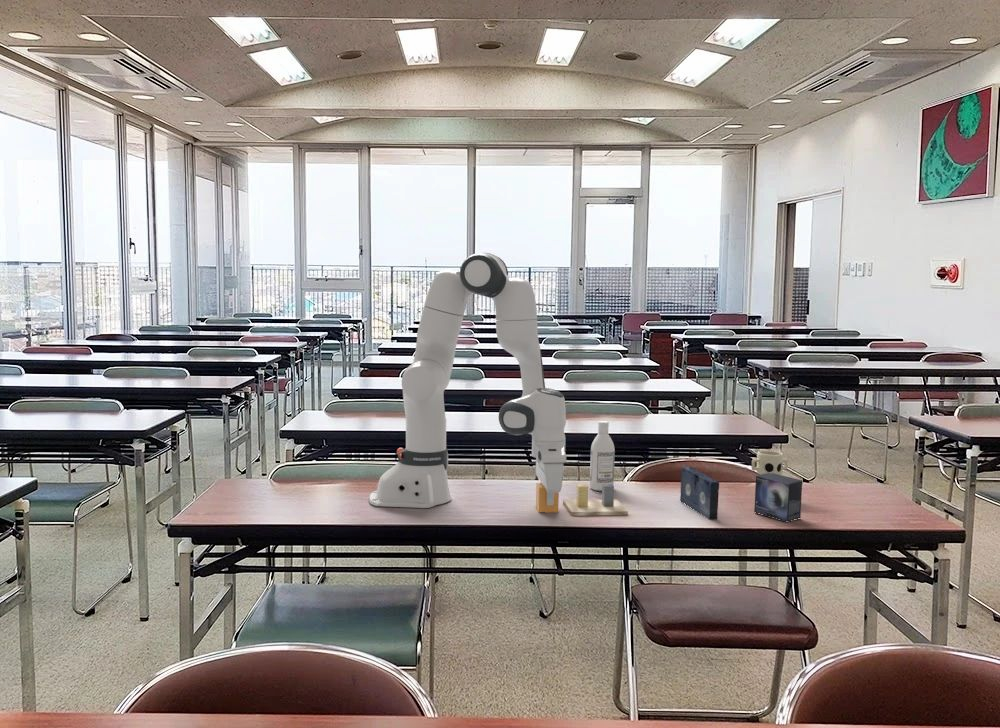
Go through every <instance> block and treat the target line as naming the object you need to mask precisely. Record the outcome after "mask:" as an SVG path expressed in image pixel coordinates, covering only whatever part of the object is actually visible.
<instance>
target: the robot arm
mask: <svg viewBox="0 0 1000 728" xmlns="http://www.w3.org/2000/svg"><path fill="white" fill-rule="evenodd" d="M473 295H479V296H483V297H486V298H489V299H492V301H493V302H494V303H493V304H494V307H495V331H496V336H497V337H496V338H497V342H498V344H499V346H500V347H501V348H502V349H503V350H504V351H506V352H507V353H509V354H510V355H512V356H513V357H514V358H515V359H516V360H517V362H518V365H519V369H520V377H521V385H522V395H521V396H520V397H519V398H518V397H517V398H515V399H511V400H509V401H507V402H505V403H504V404H502V406H501V407H500V408H499V412H498V421H499V422H498V423H499V426H500V428H501V429H502V430H503V432H505V433H507V434H509V435H512V436H522V435H526V434H528V435H531V456H532V457H533V458H535V459H536V460H535V475H536V477H537V478H538V480H539V483H542V485H543V486H544V488H545V489H546V491H547V497H546V503H547V505H553V504H554V496H555V492H559V493H561V490H562V487H563V481H564V480H563V479H564V476H563V475H564V465H565V464H564V463H566V462H567V455H566V454H567V453H566V434H565V426H566V424H567V410H566V400H565V396H564V394H563V393H561V392H560V391H559V390H557V389H554V388H549V387H548V388H547V387H546V383H545V375H544V365H543V356H542V350H541V345H540V342H539V333H538V313H537V311H538V310H537V303H536V297H535V293H534V288H533V286H532V283H530V281H528V280H527V279H524V278H520V277H510V276H509V271H508V267H507V264H506V263H505V262H504V260H502V259H501V257H499V256H497V255H495V254H492V253H491V252H489V253H488V252H476V253H472V254H471V255H469V256H468V257H466V258H465V259H464V260H463V262H462V264H461V266H460V269H459V270H455V269H444V270H443V269H442V270H440V271H438V272H437V273H436V274H435V276H434V278H433V279H432V281H431V284H430V286H429V289H428V291H427V294H426V297H425V301H424V304H423V307H422V308H423V309H422V313H421V317H420V320H419V325H418V329H417V332H416V335H417V336H416V342H415V343H416V344H415V351H414V357H413V362H412V364H410V365H409V366H407V367H406V369H405V370H404V371H403V375H402V377H401V388H402V398H403V407H404V414H405V415H404V416H405V448H403V447H399V448H397V450H396V454H397V459H398V460H397V461H398V462H397V463H395V464H394V465H393V466H392V467H391V468H389V469H388V470H386V471H385V472H384V473H382V475H381V476H380V478H379V480H378V483H377V489H376V490H374V491H372V492H371V493H370V494H369V499H368V501H369V503H370V504H371V505H372V506H375V507H392V508H393V507H394V508H398V507H399V508H415V509H416V508H419V509H430V508H433V507H435V506H437V505H438V506H439V505H442V504H446V503H448V502H450V501H451V500H452V495H451V490H450V487H449V480H448V472H447V470H448V466H449V453H448V448H447V418H446V410H445V399H444V397H445V396H444V392H445V390H446V389H447V388H448V386H449V383H450V379H451V375H452V371H453V365H454V361H455V355H456V350H457V349H456V348H457V344H458V341H459V337H460V336H459V335H460V331H461V329H462V328H461V327H462V324H463V321H464V320H463V319H464V317H465V316H464V315H465V313H466V308H467V305H468V303H469V300H470V298H471V297H472V296H473Z"/></svg>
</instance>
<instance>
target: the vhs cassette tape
mask: <svg viewBox="0 0 1000 728" xmlns="http://www.w3.org/2000/svg"><path fill="white" fill-rule="evenodd" d="M680 473H681V476H680V494H679V495H680V497H679V502H680V501H681V502H680V503H682V502H683V503H682V504H684V503H685V504H686V505H685V504H684V505H685V506H687V505H688V506H689V507H688V506H687V507H688V508H690V507H691V508H692V509H691V508H690V509H691V510H693V509H694V510H693V511H695V512H696V511H697V512H696V513H698V512H699V513H700V514H699V513H698V514H699V515H701V514H702V515H701V516H703V517H704V516H705V517H704V518H706V519H707V518H708V520H718V510H719V495H720V494H719V493H720V492H719V490H720V482H719V481H717V480H715V479H713V478H712V477H710V476H708V475H706V474H704V473H702V472H701V471H698V470H696V469H694V468H692V467H690V466H682V467H681V472H680Z"/></svg>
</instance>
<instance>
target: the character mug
mask: <svg viewBox="0 0 1000 728" xmlns="http://www.w3.org/2000/svg"><path fill="white" fill-rule="evenodd" d="M788 466H789V460H788V459H787V458H786V457H785V458H784V453H783V452H781V451H776V450H768V449H767V450H758V451H757V455H756V458H753V459H752V460H751V470H752V471H756V474H757V475H761V474H766V473H774V474H778V475H782V474H783V472H784V471H786V470H788V468H789V467H788Z"/></svg>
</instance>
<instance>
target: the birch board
mask: <svg viewBox="0 0 1000 728" xmlns="http://www.w3.org/2000/svg"><path fill="white" fill-rule="evenodd" d="M562 505H564V506H565V509H566V510H567V511H568V513H569V515H570V516H573V517H574V516H575V517H577V516H580V517H581V516H584V517H585V516H628V515H629V511H628V510H627V509H626V508H625V506H624V505H623V504H622V503H621V502H620V501H619V499H617V498H614V507H604V506H603V505H602V499H588V507H578V506H577V505H576V499H563V500H562Z"/></svg>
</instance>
